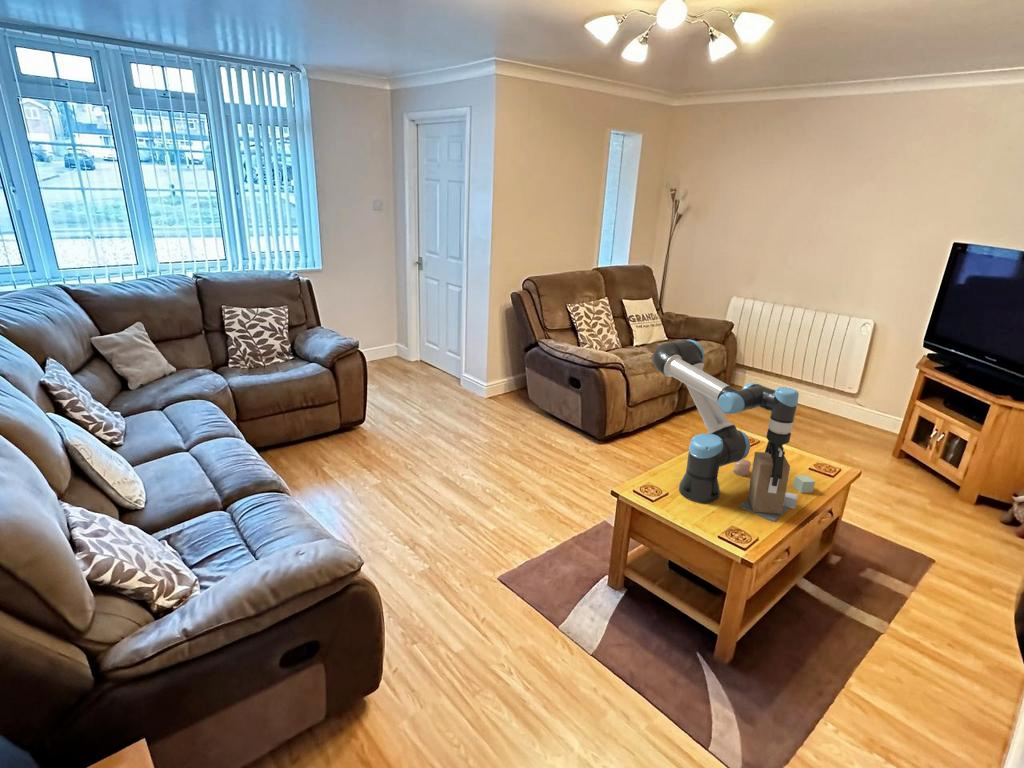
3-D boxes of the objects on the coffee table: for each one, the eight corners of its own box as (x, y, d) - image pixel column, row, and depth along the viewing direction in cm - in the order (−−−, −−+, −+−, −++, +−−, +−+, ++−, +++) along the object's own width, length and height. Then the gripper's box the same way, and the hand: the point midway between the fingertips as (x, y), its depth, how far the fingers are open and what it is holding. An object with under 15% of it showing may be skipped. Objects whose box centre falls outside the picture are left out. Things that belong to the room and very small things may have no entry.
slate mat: (773, 522, 195) (773, 520, 195) (738, 506, 204) (739, 505, 204) (788, 509, 203) (789, 507, 203) (755, 495, 212) (755, 493, 212)
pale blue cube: (783, 506, 205) (785, 496, 204) (784, 501, 208) (786, 492, 207) (795, 509, 203) (797, 499, 202) (795, 504, 207) (797, 495, 205)
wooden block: (782, 514, 198) (790, 466, 191) (752, 512, 200) (760, 463, 193) (775, 500, 207) (783, 453, 200) (747, 497, 209) (754, 451, 202)
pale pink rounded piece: (734, 475, 227) (736, 464, 225) (732, 468, 232) (734, 458, 231) (750, 477, 226) (752, 466, 224) (747, 470, 231) (749, 459, 230)
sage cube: (800, 493, 214) (803, 482, 213) (793, 486, 219) (795, 475, 217) (812, 492, 215) (815, 481, 213) (804, 486, 220) (807, 475, 218)
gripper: (799, 445, 181) (786, 502, 189) (783, 418, 203) (772, 470, 210) (775, 442, 183) (763, 499, 190) (762, 416, 204) (752, 468, 212)
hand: (768, 484), depth 200 cm, fingers open, 11 cm apart
